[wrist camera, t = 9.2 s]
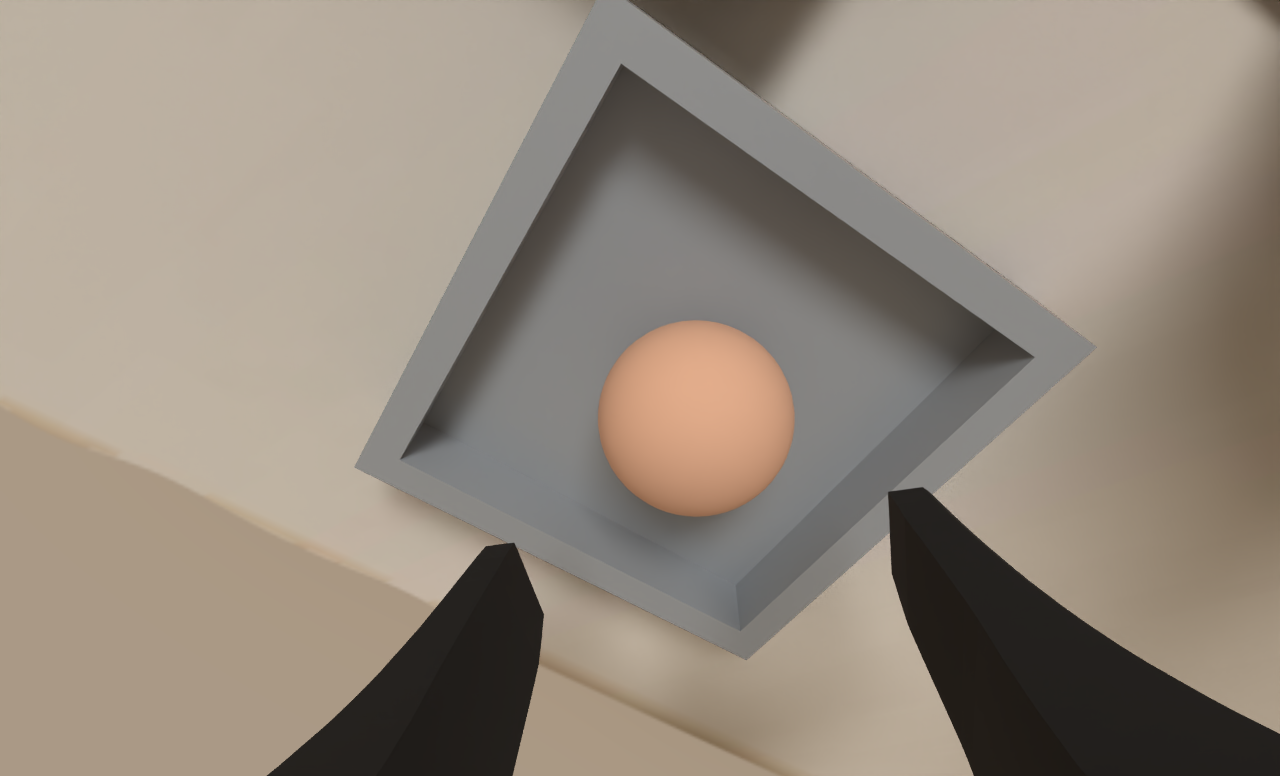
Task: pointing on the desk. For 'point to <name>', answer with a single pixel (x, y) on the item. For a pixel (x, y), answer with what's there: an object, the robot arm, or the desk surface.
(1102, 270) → the desk surface
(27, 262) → the desk surface
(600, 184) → the tray
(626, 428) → the ball
